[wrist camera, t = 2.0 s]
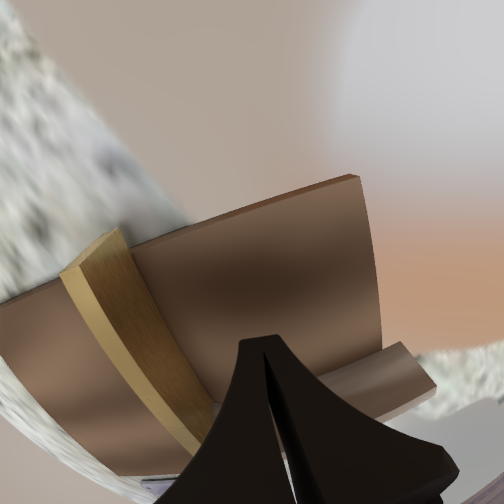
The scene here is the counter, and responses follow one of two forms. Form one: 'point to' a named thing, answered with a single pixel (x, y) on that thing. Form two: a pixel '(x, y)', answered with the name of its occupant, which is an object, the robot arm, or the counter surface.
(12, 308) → the hinge base
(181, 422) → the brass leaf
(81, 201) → the counter surface
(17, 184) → the counter surface
